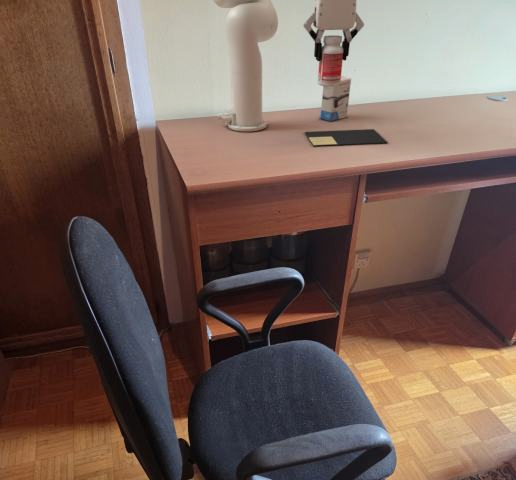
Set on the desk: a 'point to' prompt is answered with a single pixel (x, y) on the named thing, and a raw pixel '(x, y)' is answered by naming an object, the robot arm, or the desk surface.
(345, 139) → the desk mat
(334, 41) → the pill bottle
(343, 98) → the ink box
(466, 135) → the desk surface
